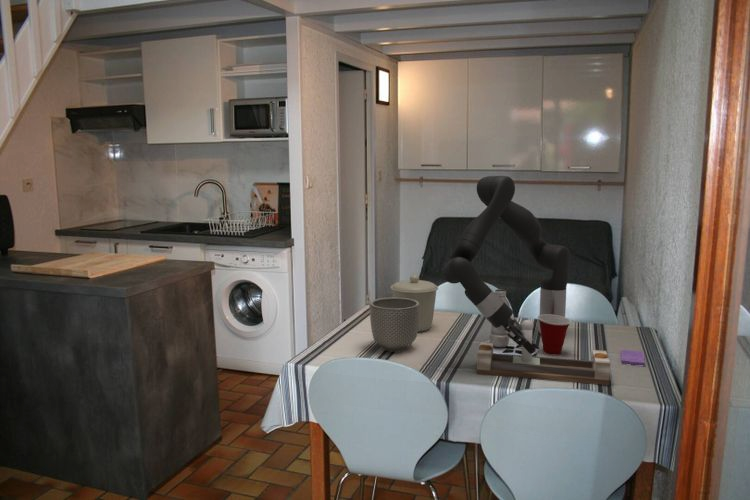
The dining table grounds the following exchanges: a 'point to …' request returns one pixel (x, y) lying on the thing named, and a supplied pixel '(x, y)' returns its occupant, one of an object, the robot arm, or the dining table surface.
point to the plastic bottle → (499, 334)
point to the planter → (394, 322)
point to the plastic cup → (553, 332)
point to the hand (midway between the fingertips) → (533, 349)
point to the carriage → (526, 356)
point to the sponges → (632, 357)
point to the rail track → (545, 367)
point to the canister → (418, 298)
